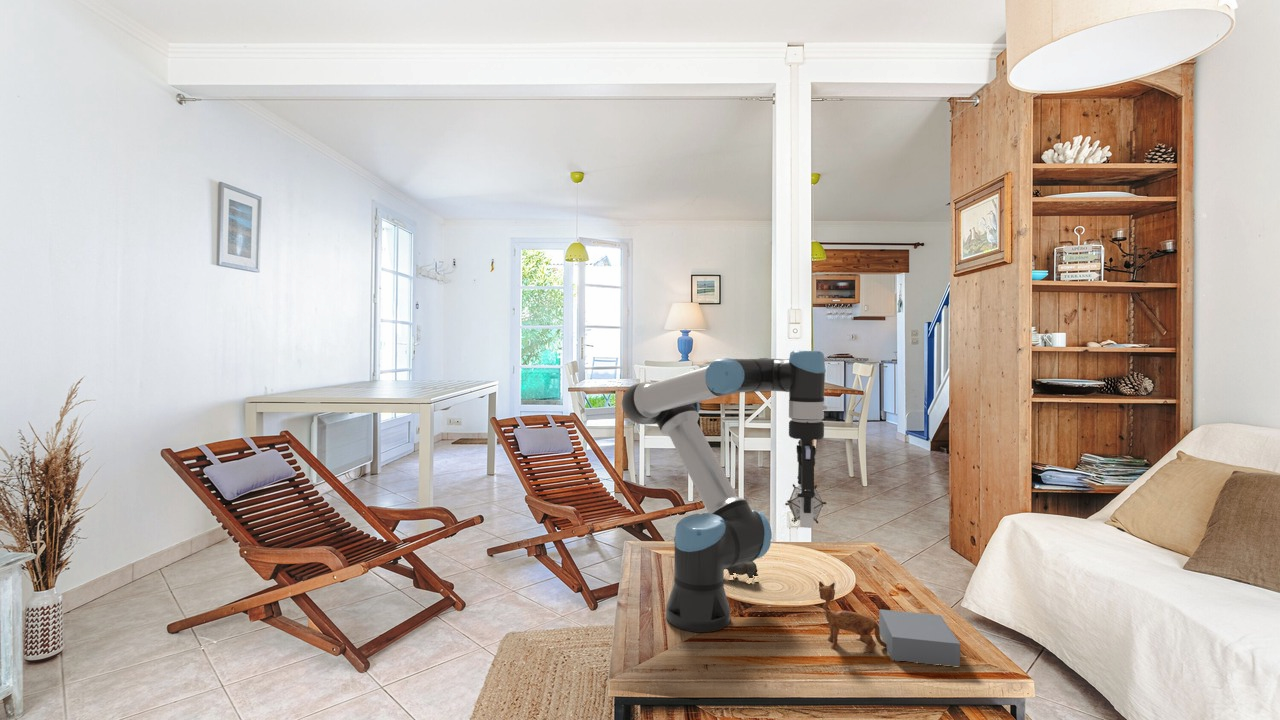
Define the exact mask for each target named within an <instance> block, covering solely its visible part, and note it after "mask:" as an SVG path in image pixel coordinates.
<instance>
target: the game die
mask: <svg viewBox="0 0 1280 720" xmlns="http://www.w3.org/2000/svg"><path fill="white" fill-rule="evenodd" d="M792 488H793V490H792V492H791V494H790V498H789V500H787V501H786V502H785V503H784V505H785V506H788V507H789V510H790V512H791V513H792V515H793V518H794V519H793V523H797V521H800V497H798V493H800V494H801V487H798V486H796V485H795V483H792ZM817 488H818V485H817V484H814V493H815V495H814V514H813V522H814V521H815V523H816V524H818V525H819V520H817V519H818V517H819V515H820V512H821V511H822V508H823V507H824V505H827V502H826V501H823V500H822V498H821V496H820V494H819V492H818V490H817ZM805 491H811V490H805Z"/></svg>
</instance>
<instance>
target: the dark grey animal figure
mask: <svg viewBox="0 0 1280 720" xmlns="http://www.w3.org/2000/svg"><path fill="white" fill-rule="evenodd" d="M724 570H727V572H728V574H729V576H730V575H734V574H733V573H736V574H737V575H738V576H739V575H740V576H744V575H747V578H748V577H749V578H753V579H754V576H759V575H758V568H757V563H755V562H754V561H752V562H745V563H742V564H739V565H735V566H732V567H728V568H725V569H724ZM753 575H754V576H753Z"/></svg>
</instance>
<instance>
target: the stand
mask: <svg viewBox="0 0 1280 720" xmlns="http://www.w3.org/2000/svg"><path fill="white" fill-rule="evenodd" d="M878 612H879V613H878V626H879V629H880V638H881V640H882V641H883V642H884V643H886V648H885V649H886V651H887V653H888V655H890V656H889V658H890V660H891V661H893V662H899V661H908V662H918V663H925V664H924V665H927V664H939V665H940V664H941V665H950V666H959V667H961V642H960V641H959V639H958V637H956V636H955V634H954V632H953V630H952V629H951V628H950V626H949V625H948V624H947V622H946V621H945V619H944V618H943V617H942V615H941V614H933V613H921V612H913V611H900V610H889V609H881V608H880V609H879V611H878ZM894 660H895V661H894ZM908 662H907V663H908ZM918 663H917V664H918Z"/></svg>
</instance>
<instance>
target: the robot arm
mask: <svg viewBox="0 0 1280 720" xmlns="http://www.w3.org/2000/svg"><path fill="white" fill-rule="evenodd" d="M825 365H826V363H825V354H824V353H823V352H822V351H820V350H792V351H790V353H789V357H788V359H786V358H783V359H782V358H768V357H763V358H762V357H759V358H729V357H726V358H721V359H715V360H713V361H711V362H710V363H709V365H708V366H704V367H701V368H698V369H695V370H692V371H689V372H685V373H682V374H678V375H676V376H672V377H669V378H665V379H663V380H660V381H655V382H652V381H643V382H638V383H636V384H632V385H631V386H630V387H628V388H627V389H626V390H625V392H624V393H623V396H622V400H621V405H622V407H621V408H622V410H623V413H624V415H625V417H626V418H627V419H629V420H630V421H631V422H633V423H635V424H638V425H655V424H656V425H657V426H658V427H659V430H660V432H661V434H662V436H666V437H669V438H670V439H671V442H672V444H673V446H674V448H675V449H676V451H677V453H678V456H679V458H680V459H681V462H682V463H683V466H684V467H685V469H686V472H687V474H688V475H689V478H690V479H691V481H692V483H693V484H694V487H695V489H696V491H697V493H698V495H699V496H700V500H701V501H702V503H703V505H704V507H705V509H706V511H707V513H706V512H703V513H694V514H690V515H687V516H685V517H683V518H681V519H680V520H679V521H678V522H677V524H676V526H675V532H674V533H675V534H674V536H673V537H674V539H673V543H674V544H673V545H674V563H673V564H674V566H673V567H674V570H673V573H674V574H673V585H672V588H671V591H670V594H669V596H668V600H667V603H666V605H665V606H666V607H665V618H666V620H667V621H668V622H669V623H670V624H671V625H672V626H675V628H678V629H681V630H684V631H689V632H696V633H711V632H716V631H719V630H722V629H724V628H726V627H727V626H728V625H729V624H730V622H731V608H730V605H729V601H728V597H727V594H726V591H725V588H724V586H725V585H724V578H725V577H724V576H725V575H724V573H725V572H724V571H725V570H726V569H725V568H728V567H732V566H735V565H739V564H742V563H745V562H752V561H753V562H754V561H755V560H757V559H759V558H762V557H764V556H765V555H766V554H767V553H768V551H769V549H771V548H770V547H771V544H772V541H771V540H772V538H773V537H772V535H773V534H772V528H771V524H770V522H769V520H768V518H767V517H766V515H765V514H764V513H762V512H760V511H759V510H755V509H752V508H751V507H750V505H749V503H748V501H747V499H745V498H743V497H738V496H737V494H736V491H735V489H734V487H733V486H732V484H731V483H730V480H729V478H728V476H727V475H726V473H725V471H724V469H723V467H722V466H721V464H720V461H719V460H718V458H717V456H716V454H715V453H714V451H713V449H712V447H711V446H710V443H709V441H708V440H707V437H706V436H705V435H704V432H703V431H702V429H701V427H700V425H699V424H698V421H699V419H700V413H699V412H700V408H701V405H700V404H699V403H700V402H705V401H707V400H712V399H715V398H718V397H725V396H729V395H733V394H738V393H751V392H752V393H753V392H755V393H756V392H786V393H788V397H789V398H788V417H789V419H790V420H789V421H788V437H790V438H792V439H794V440H795V439H796V440H798V442H797V445H796V448H795V449H796V454H797V456H796V458H797V460H796V461H797V463H798V464H797V465H798V466H797V467H798V468H797V471H798V472H797V484H798V485H797V487H801V494H800V493H798V497H800V520H799V527H800V528H807V529H813V528H814V520H813V514H814V495H815V493H814V486H815V467H816V466H815V465H816V453H817V447H816V445H813V440H817V441H818V440H822V439H824V437H825V422H823V421H822V420H824V419H825V412H824V411H826V410H828V406H827V405H825V377H826V366H825ZM805 490H811V491H805Z"/></svg>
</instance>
